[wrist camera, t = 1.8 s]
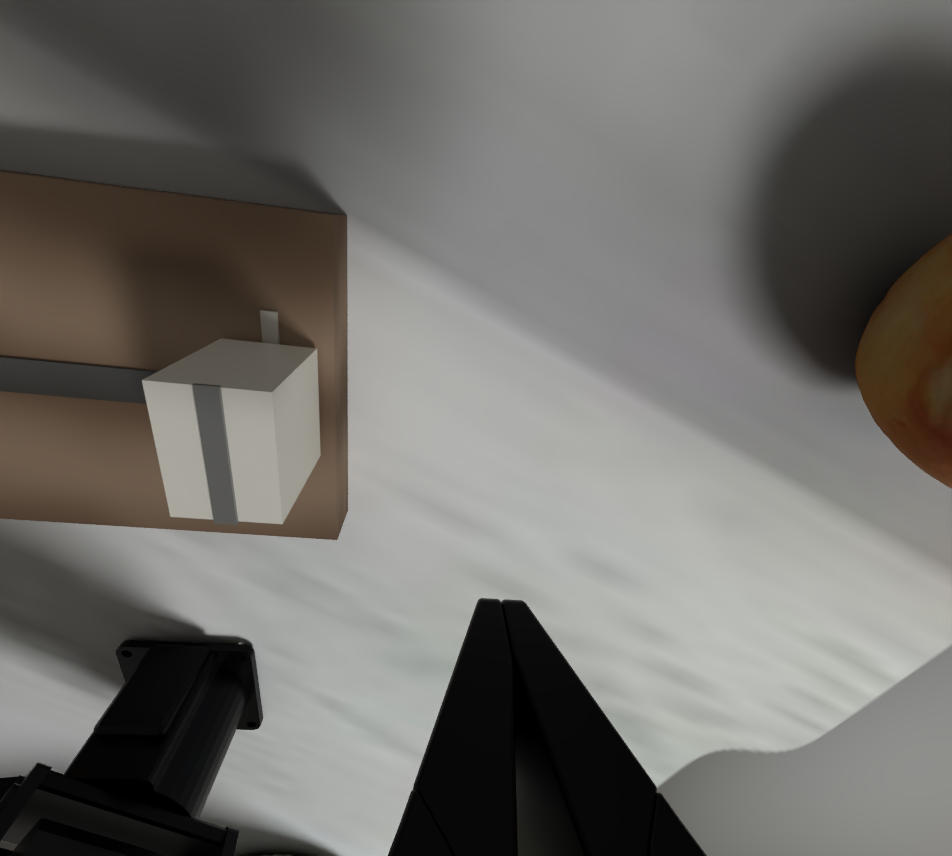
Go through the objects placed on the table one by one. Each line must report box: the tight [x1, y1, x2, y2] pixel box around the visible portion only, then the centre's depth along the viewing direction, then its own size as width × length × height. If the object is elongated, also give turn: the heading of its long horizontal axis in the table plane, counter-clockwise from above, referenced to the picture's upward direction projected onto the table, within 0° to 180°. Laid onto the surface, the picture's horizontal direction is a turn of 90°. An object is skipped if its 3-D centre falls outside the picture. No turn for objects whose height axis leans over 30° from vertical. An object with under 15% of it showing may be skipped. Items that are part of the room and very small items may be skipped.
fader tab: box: [142, 339, 321, 525], centre depth 13 cm, size 4×3×4 cm
